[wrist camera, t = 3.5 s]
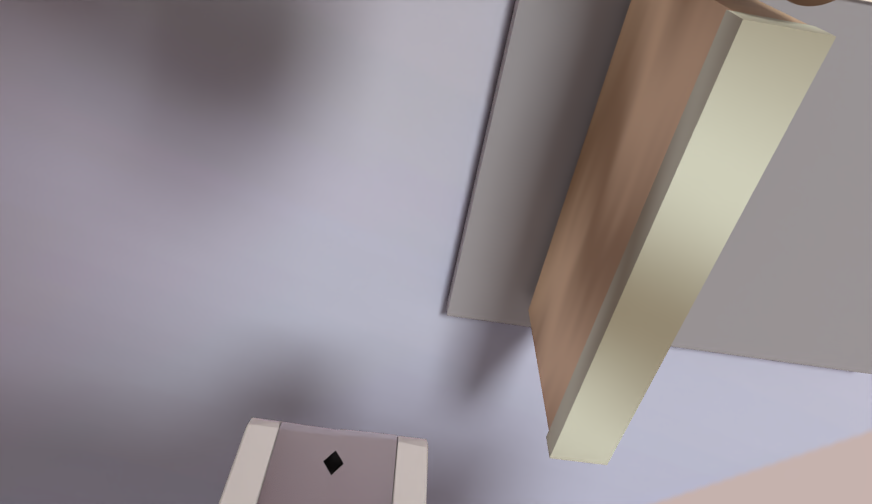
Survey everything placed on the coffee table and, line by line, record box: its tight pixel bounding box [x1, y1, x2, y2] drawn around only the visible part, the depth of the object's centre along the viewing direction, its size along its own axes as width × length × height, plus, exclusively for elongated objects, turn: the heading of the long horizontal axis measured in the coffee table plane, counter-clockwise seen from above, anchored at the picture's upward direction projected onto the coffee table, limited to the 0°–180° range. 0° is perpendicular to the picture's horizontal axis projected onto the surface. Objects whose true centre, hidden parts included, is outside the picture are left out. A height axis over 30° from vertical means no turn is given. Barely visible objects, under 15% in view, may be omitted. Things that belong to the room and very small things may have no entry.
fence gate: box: [528, 0, 836, 465], centre depth 13 cm, size 12×1×5 cm, turn 171°
